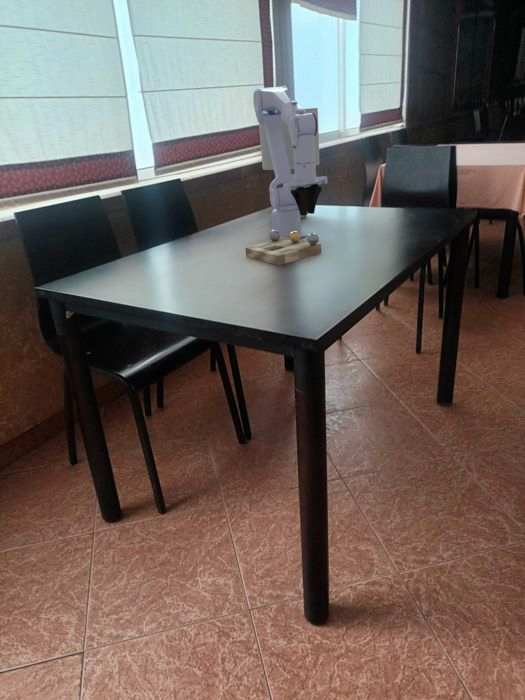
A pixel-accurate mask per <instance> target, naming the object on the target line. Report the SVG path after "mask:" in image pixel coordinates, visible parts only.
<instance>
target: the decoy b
mask: <svg viewBox="0 0 525 700" xmlns="http://www.w3.org/2000/svg"><path fill="white" fill-rule="evenodd" d="M306 241H308V243H309V244H310V245H315V244H317V243H319V241H320V238H319V235H318V234H317V233H315V232H311V233H309V234H307V236H306Z"/></svg>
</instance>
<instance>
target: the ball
mask: <svg viewBox="0 0 525 700" xmlns="http://www.w3.org/2000/svg"><path fill="white" fill-rule="evenodd" d="M289 239H290V241H291V242H294V243H295V242H298V241H299V240H301V238H300V233H299V232H297V231H292V232H291V233H290V234H289Z"/></svg>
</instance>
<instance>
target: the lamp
mask: <svg viewBox="0 0 525 700" xmlns="http://www.w3.org/2000/svg"><path fill="white" fill-rule="evenodd" d="M303 109H304V110H305V111H306V112H307V113H310V112H314V113H315V115H316V117H317V120H318V121H319V108H318V107H312V108H311V107H310V108H303ZM258 128H259V139H260V142H259V143H260V152H261V162H262V164H261V165H262V170H265V171H274V168H273V164H272V160H271V155H270V151H269V147H268V142H267V138H266V134H265V130H264V126H263V124H261V123H259V122H258ZM280 128H281V132H282V136H283V141H284V145H285V149H286V153H287V158H288V162H289V166H290V171H291V174H293V175H294V176H295V168H294V150H293V145H292V143H291V137H290V133H289V127H288V125H287V124H286V123H285V122H284V121H282V122H281V123H280ZM319 136H320V133H319V130H318V131H317V134H316V136H314V137H315V163H316V166H319V165H320V164H321V163H320V139H319ZM303 186H304V185H303ZM308 215H309V213H308V212H307V215H306V216H303V215H300V219H304V218H305V217H307V216H308Z"/></svg>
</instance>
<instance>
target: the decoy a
mask: <svg viewBox="0 0 525 700" xmlns="http://www.w3.org/2000/svg"><path fill="white" fill-rule="evenodd" d="M268 236H269V239H270V241H277V240H279V238H280V232H279V231H278V230H272V229H271V230H270V232H269V234H268Z"/></svg>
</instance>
